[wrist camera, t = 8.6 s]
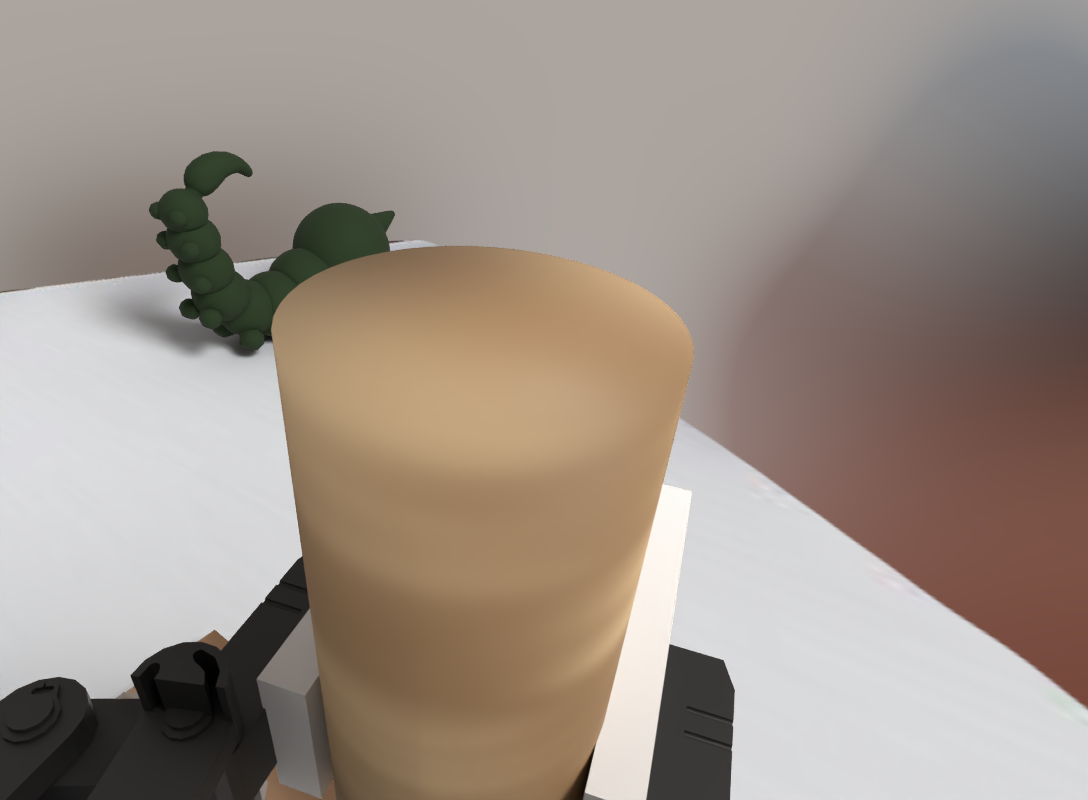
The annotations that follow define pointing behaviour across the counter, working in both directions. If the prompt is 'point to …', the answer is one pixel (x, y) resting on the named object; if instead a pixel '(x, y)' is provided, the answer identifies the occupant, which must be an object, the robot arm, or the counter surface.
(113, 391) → the counter surface
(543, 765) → the oak cylinder
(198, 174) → the toy figurine
